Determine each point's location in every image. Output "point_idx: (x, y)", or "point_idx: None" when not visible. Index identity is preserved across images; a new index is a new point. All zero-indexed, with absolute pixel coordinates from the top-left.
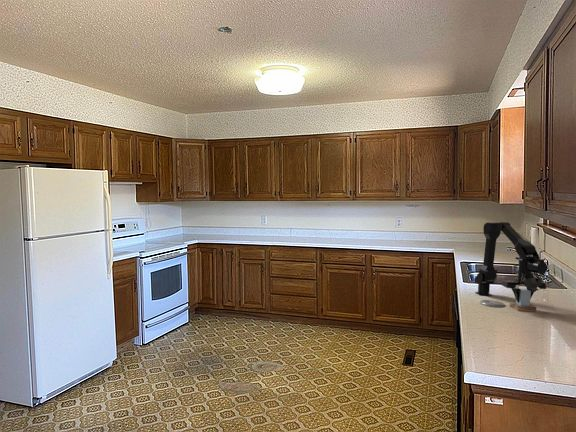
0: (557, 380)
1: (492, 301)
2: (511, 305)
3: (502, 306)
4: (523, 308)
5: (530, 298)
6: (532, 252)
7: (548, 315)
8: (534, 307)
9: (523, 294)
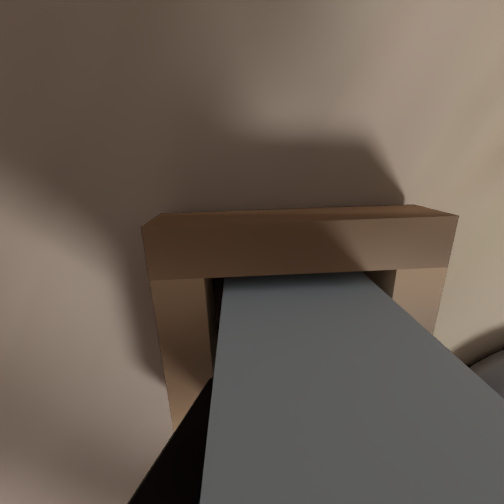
0: None
1: None
2: None
3: (491, 359)
4: (358, 214)
5: (176, 440)
6: None
7: (38, 3)
8: (177, 226)
9: None
